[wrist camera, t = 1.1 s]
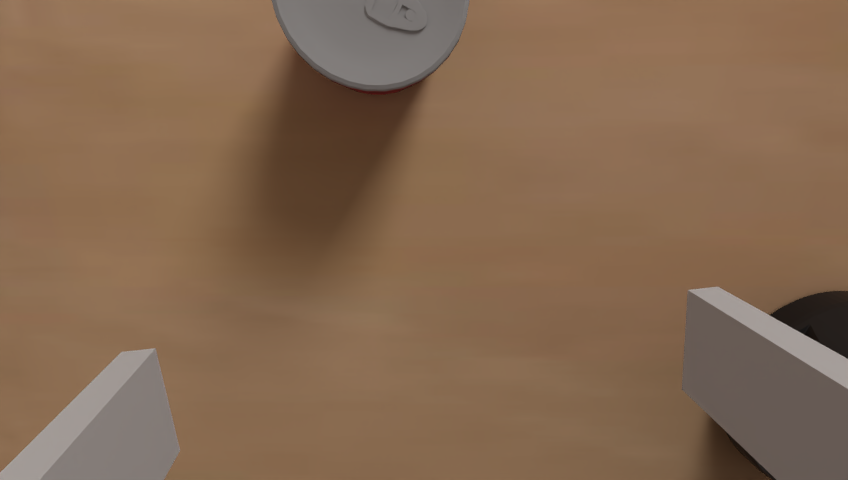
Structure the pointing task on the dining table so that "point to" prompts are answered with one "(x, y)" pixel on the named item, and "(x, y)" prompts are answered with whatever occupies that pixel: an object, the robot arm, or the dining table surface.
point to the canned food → (373, 39)
